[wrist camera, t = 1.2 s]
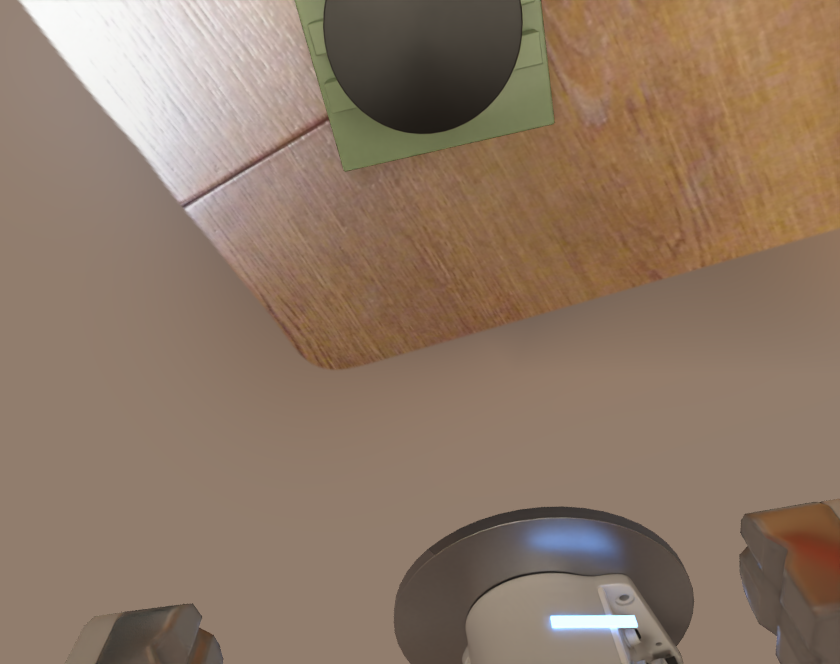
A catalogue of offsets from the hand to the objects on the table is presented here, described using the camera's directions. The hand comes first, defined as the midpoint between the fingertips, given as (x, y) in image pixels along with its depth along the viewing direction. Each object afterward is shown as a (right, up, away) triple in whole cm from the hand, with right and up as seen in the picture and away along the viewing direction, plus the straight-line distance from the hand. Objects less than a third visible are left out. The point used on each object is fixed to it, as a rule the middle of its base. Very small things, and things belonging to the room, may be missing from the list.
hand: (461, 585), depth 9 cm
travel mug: (-1, +19, +21) cm, 28 cm away
